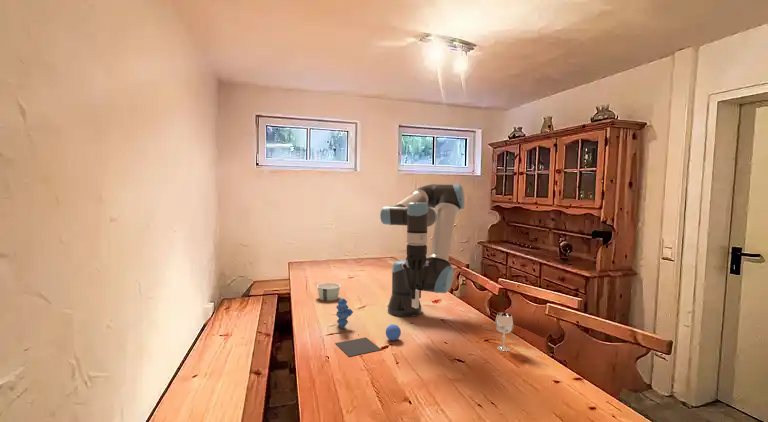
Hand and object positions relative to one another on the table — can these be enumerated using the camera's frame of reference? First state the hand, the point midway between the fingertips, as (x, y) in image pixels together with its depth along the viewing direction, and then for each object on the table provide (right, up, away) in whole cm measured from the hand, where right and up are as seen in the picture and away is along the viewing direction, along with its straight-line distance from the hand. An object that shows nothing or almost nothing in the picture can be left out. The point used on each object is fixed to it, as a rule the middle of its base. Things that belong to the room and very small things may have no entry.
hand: (415, 307), depth 140 cm
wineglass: (+30, -12, -10) cm, 33 cm away
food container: (-39, -8, +49) cm, 63 cm away
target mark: (-21, -11, -10) cm, 26 cm away
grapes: (-27, -10, +8) cm, 30 cm away
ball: (-8, -8, -4) cm, 12 cm away
